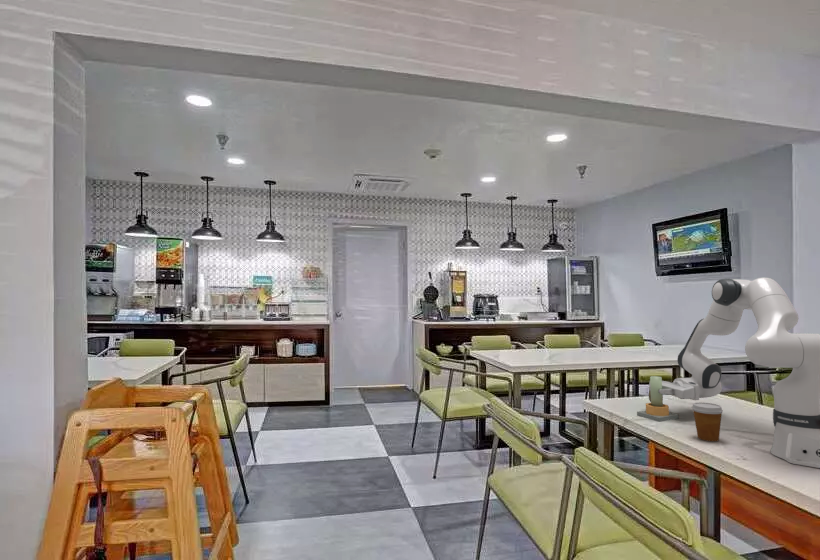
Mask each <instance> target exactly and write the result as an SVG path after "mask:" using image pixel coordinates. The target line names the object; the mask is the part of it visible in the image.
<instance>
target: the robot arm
mask: <svg viewBox="0 0 820 560" xmlns="http://www.w3.org/2000/svg"><path fill="white" fill-rule="evenodd" d="M711 297H712V299H713V300H712V302H711V304H710V306H709V309H708V312H707V315H706V316H705V318H701V319H700V320H698V322H697V323H696V324H695V326H694V328H693V330H692V331H691V334H690V335H689V338H688V340H687V341H686V343H685V345H684V347H683V348H682V350H681V351H680V352H679V353H678V354H677V355H678V356H677V364H678V366H679V368H681V369H683V370H685V371H686V372H688V373H689V374H691V376H690V377H677V378H675V379H674V380H673V382H670V381H666V380H665V381H664V380H662V389H658V393H660V394H663V395H664V394H665V395H668V396H672V397H675V398H678V399H680V400H691V401H692V400H693V401H699V400H700V399H704V398H705V399H707V398H712V397H714V396H717V395H719V394H721V391H722V389H723V386H722V383H721V382H722V381H721V377H722V368H721V367H720V365H718V364H717V363H716V362H714V361H713V360H711V359H710V358H708V357H707V356H705V355H704V354H703V353H702V352H701V349H702V346H703V345H704V343H705V341H706V340H707V338H708V337H709V336H710V335H712V336H720V337H721V336H728V335H731V334H732V333H735V331H737V329H738V327H739V325H740V323H741V319H742V315H743V313H744V311H745V310H751V311H752V314H753V316H754V318H755V320H756V323H757V330H756V332H755V333H754V334H753V335H751V336H750V337H749V338H748V339H747V340H746V342H745V347H744V351H745V356H746V357H747V359H748V360H749V361H750V362H751V363H753V364H754V365H758V366H762V367H768V368H776V369H777V368H780V369H781V368H782V369H783V368H784V369H788V368H789V369H792V371H791V373H789V375H788V376H787V377H785V378H783V379H781V380H778V381H777V382H776V383H775V385H774V387H773V399H774V400H773V401H774V408H773V409H772V423H773V426H774V435H773V441H772V444H771V448H770V453H771V455H773V456H775V457H777V458H780V459H783V460H785V461H786V462H788V463H791V464H794V465H799V466H804V467H810V468H817V469H820V333H801V332H800V333H797V332H796V333H793V332H789V331H791V330H792V329H793V328H795V326H796V325H797V324H798V322H799V314H798V312H797V310H796V309H795V307H794V304H793V303H792V302H791V299H790V298H789V296H788V294H787V293H786V292H785V290H784V289H783V288H782V286H781V285H780V284H779V283H778V282H777V281H776V280H775V279H773V278H770V277H757V278H755V279H752V280H749V279H740V278H739V279H738V278H737V279H732V278H721V279H719V280H718V279H717V281H716V282H715V283H714V284H713V285H712V287H711ZM648 384H649V385H648V391H649V390H650V391H651V389H650V381H649V383H648Z"/></svg>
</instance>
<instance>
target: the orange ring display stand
mask: <svg viewBox="0 0 820 560" xmlns="http://www.w3.org/2000/svg"><path fill="white" fill-rule="evenodd" d="M636 415H637V416H639V417H642V418H645V419H648V420H652V421H657V422H665V421H671V420H678V419H679V414H676V413H671V412H670V408H669V404H665V403H663V406H660V407H658V406H652V405H651V402H647V403H645V410H640V411H636Z"/></svg>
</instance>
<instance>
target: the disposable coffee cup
mask: <svg viewBox="0 0 820 560" xmlns="http://www.w3.org/2000/svg"><path fill="white" fill-rule="evenodd" d="M691 409H692V412H693V417H694V424H695V428H696V432H697V438H698V439H699V440H702V441H706V442H719V440H720V433H721V421H722V414H723V412H724V409H723V408H722V405H720V404H717V403H711V402H693V403H692V406H691Z"/></svg>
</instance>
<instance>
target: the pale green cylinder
mask: <svg viewBox="0 0 820 560" xmlns="http://www.w3.org/2000/svg"><path fill="white" fill-rule="evenodd" d="M662 381H663V379H662V376H657V375H651V376H650V377H649V382H650V389H651V402H650V403H651V405H652V406H658V407H660V406H663V404H664V396H663V397H662V394H660V393H658V389H662Z"/></svg>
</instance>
